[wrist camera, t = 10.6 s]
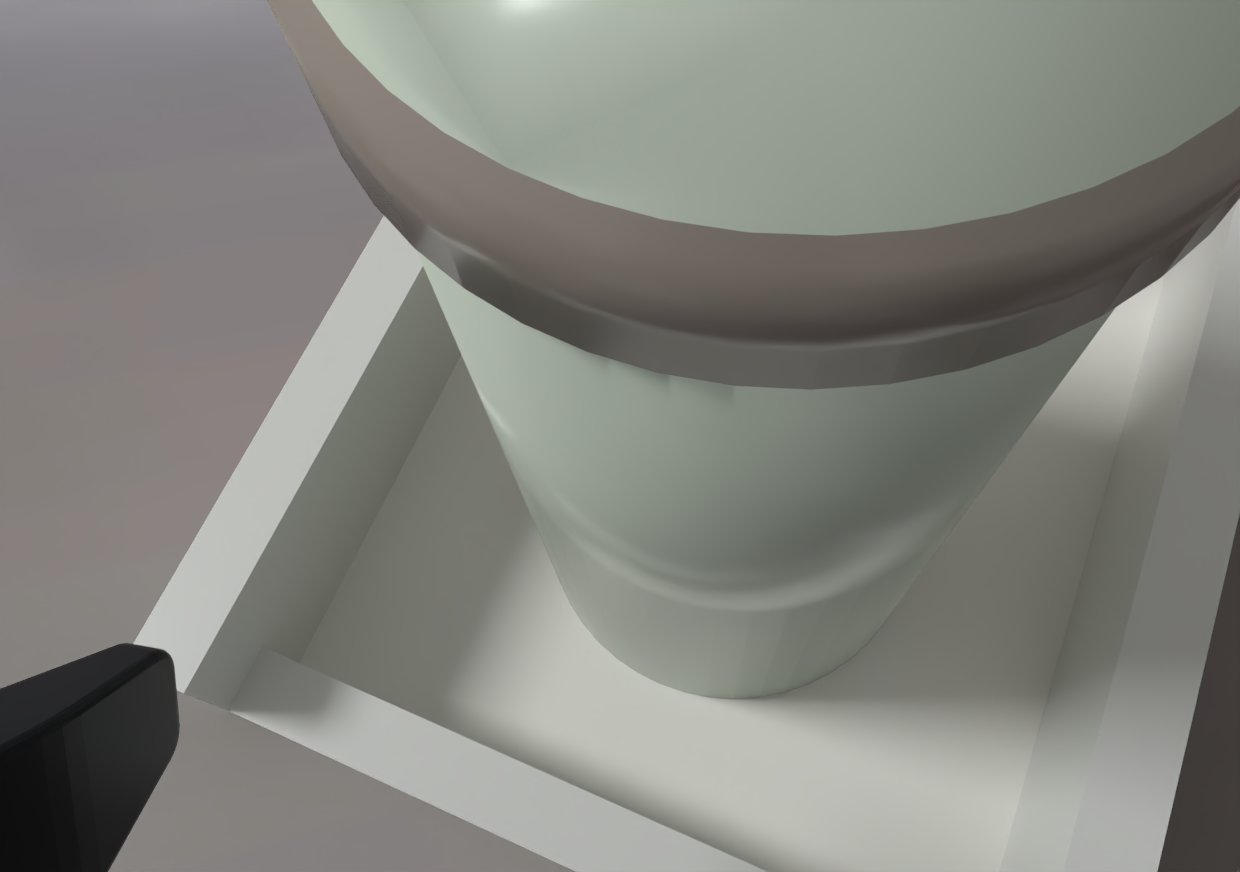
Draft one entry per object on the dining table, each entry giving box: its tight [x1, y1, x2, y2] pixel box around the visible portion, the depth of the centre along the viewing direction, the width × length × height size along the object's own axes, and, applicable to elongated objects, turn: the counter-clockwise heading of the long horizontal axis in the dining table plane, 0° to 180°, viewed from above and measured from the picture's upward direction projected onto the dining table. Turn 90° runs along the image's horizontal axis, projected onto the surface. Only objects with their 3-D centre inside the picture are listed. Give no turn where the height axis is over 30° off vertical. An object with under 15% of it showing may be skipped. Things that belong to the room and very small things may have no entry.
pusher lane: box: [133, 199, 1240, 872], centre depth 18 cm, size 26×13×7 cm, turn 157°
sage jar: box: [268, 0, 1240, 699], centre depth 12 cm, size 6×6×13 cm
